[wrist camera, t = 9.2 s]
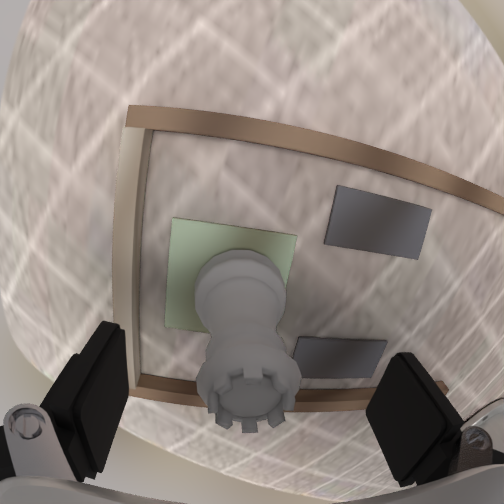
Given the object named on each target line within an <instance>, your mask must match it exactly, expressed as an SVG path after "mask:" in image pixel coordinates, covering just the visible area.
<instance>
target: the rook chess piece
mask: <svg viewBox="0 0 504 504" xmlns="http://www.w3.org/2000/svg"><path fill="white" fill-rule="evenodd" d="M286 294H287V292H286V290H285V284H284V281H283V278H282V275H281V273H280V270H279V269H278V267H277V266H276V265H275V264H274V263H273V262H272V261H271V260H270V259H269V258H268V257H266V256H263V255H261V254H259V253H256V252H254V251H251V250H230V251H227V252H225V253H222V254H219V255H217V256H214V257H213V258H212V259H211V260H210V261H209V262H208V263H207V264H205V265H204V266H203V267H202V268H201V270H200V272H199V275H198V277H197V279H196V282H195V292H194V296H195V309H196V312H197V314H198V316H199V318H200V320H201V322H202V323H203V325H204V327H206V328H207V329H208V331H209V332H210V333H211V340H210V342H209V344H208V346H207V348H206V362H204V363H203V365H202V367H201V369H200V371H199V373H198V375H197V377H196V383H197V393H198V394H199V395H200V397H201V398H202V400H203V401H204V402H205V404H206V405H207V406H208V413H216V419H215V423H217V424H218V425H220V426H222V427H224V428H225V429H229V428H230V427H231V426H232V425H233V423H232V420H233V421H238V422H241V424H242V433H255V432H258V428H257V422H258V421H262V420H265V419H268V424H269V425H270V426H271V427H272V428H274V427H276V426H278V425H279V424H281V423H282V422H284V421H285V417H284V412H283V410H285V411H293V410H294V405H295V395H296V394H297V392H298V391H299V388H300V383H301V377H302V375H301V373H300V370H299V368H298V365H297V362H296V361H295V360H293V359H292V358H291V357H290V356H288V355H287V354H286V347H285V344H284V342H283V340H282V337H280V336H279V335H278V334H277V333H276V326H277V324H278V322H279V321H280V319H281V317H282V315H283V314H284V311H285V304H286Z"/></svg>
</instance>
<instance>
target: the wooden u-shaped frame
mask: <svg viewBox="0 0 504 504" xmlns="http://www.w3.org/2000/svg"><path fill="white" fill-rule="evenodd" d="M153 130H158V131H169V132H179V133H188V134H196V135H204V136H212V137H219V138H226V139H233V140H239V141H246V142H252V143H257V144H263V145H269V146H274V147H279V148H284V149H289V150H294V151H299V152H304V153H309V154H313V155H318V156H322V157H326V158H331V159H335V160H339V161H343V162H347V163H351V164H355V165H359V166H362V167H366V168H370V169H373V170H377V171H380V172H384V173H387V174H391V175H394V176H397V177H401V178H404V179H407V180H410V181H414V182H417V183H420V184H423V185H426V186H429V187H432V188H435V189H438V190H441V191H443V192H446V193H449V194H452V195H455V196H457V197H460V198H463V199H465V200H468V201H471V202H473V203H476V204H478V205H481V206H483V207H486V208H488V209H491V210H493V211H496V212H498V213H500V214H503V215H504V198H503V197H501V196H499V195H497V194H495V193H493V192H491V191H489V190H487V189H484V188H482V187H480V186H478V185H475V184H473V183H471V182H469V181H466V180H464V179H462V178H459V177H457V176H454V175H452V174H449V173H447V172H444V171H442V170H439V169H437V168H434V167H432V166H429V165H426V164H424V163H421V162H418V161H415V160H412V159H410V158H407V157H404V156H401V155H398V154H395V153H392V152H389V151H386V150H382V149H379V148H376V147H373V146H369V145H366V144H363V143H359V142H356V141H352V140H348V139H345V138H341V137H337V136H333V135H329V134H326V133H321V132H317V131H313V130H309V129H304V128H300V127H295V126H291V125H286V124H281V123H276V122H271V121H266V120H260V119H254V118H249V117H243V116H236V115H230V114H223V113H215V112H208V111H199V110H190V109H181V108H170V107H157V106H141V105H129V107H128V112H127V118H126V125H125V127H123V129H122V136H121V143H120V151H119V159H118V168H117V178H116V189H115V202H114V219H113V245H112V292H113V318H114V323H117V324H119V325H120V329H124V330H125V336H126V355H127V369H128V381H129V396H133V397H138V398H144V399H149V400H155V401H161V402H167V403H174V404H181V405H189V406H197V407H206V408H208V406H207V405H206V404H205V402H204V401H203V400H202V398H201V397H200V395H199V394H198V393H197V383H196V382H191V381H184V380H176V379H170V378H163V377H157V376H151V375H145V374H141V371H140V347H139V276H140V252H141V235H142V221H143V209H144V198H145V188H146V179H147V170H148V162H149V155H150V148H151V141H152V134H153ZM431 212H432V209H429V208H425V207H422V206H418V205H415V204H411V203H408V202H404V201H400V200H397V199H393V198H389V197H385V196H381V195H377V194H373V193H369V192H365V191H361V190H357V189H352V188H348V187H344V186H339V185H337V187H336V192H335V197H334V202H333V206H332V211H331V215H330V220H329V224H328V228H327V233H326V237H325V241H324V244H325V245H331V246H337V247H343V248H350V249H356V250H362V251H368V252H375V253H381V254H387V255H393V256H399V257H405V258H411V259H416V260H418V258H419V255H420V252H421V248H422V245H423V242H424V238H425V234H426V231H427V227H428V223H429V220H430V216H431ZM296 240H297V235H292V234H286V233H279V232H273V231H266V230H259V229H252V228H246V227H239V226H232V225H225V224H218V223H211V222H203V221H196V220H189V219H181V218H174V217H173V218H172V227H171V237H170V248H169V259H168V273H167V287H166V305H165V327H168V328H175V329H182V330H189V331H196V332H204V333H210V332H209V331H208V329H207V328H206V327H204V325H203V323H202V322H201V320H200V318H199V316H198V314H197V312H196V309H195V296H194V292H195V282H196V279H197V277H198V275H199V272H200V270H201V268H202V267H203V266H204V265H205V264H207V263H208V262H209V261H210V260H211V259H212V258H213V257H214V256H217V255H219V254H222V253H225V252H227V251H230V250H251V251H254V252H256V253H259V254H261V255H263V256H266V257H268V258H269V259H270V260H271V261H272V262H273V263H274V264H275V265H276V266H277V267H278V269H279V270H280V273H281V275H282V278H283V281H284V284H285V289H286V284H287V280H288V276H289V271H290V267H291V263H292V258H293V254H294V249H295V245H296ZM386 344H387V341H386V340H352V339H328V338H310V337H299V338H298V341H297V345H296V348H295V351H294V355H293V358H292V359H293V360H295V361H296V362H297V365H298V368H299V370H300V373H301V375H302V377H301V378H371V377H372V375H373V373H374V371H375V369H376V367H377V364H378V362H379V360H380V358H381V356H382V354H383V351H384V349H385V347H386ZM435 383H436V384H437V385H438V387H439V388H440V389H441V391H442V392H443V393H444V395H446V394H447V392H448V391H449V389H448V387H447V386H446V385H445V384H444V382H443V381H438V382H435ZM376 389H377V388H362V389H330V390H303V389H299V391H298V392H297V394H296V395H295V405H294V410H293V411H285V410H283V412H332V411H350V410H364V409H366V408H367V406H368V404H369V402H370V400H371V398H372V396H373V394H374V393H375V391H376Z"/></svg>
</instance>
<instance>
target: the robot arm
mask: <svg viewBox="0 0 504 504" xmlns="http://www.w3.org/2000/svg"><path fill="white" fill-rule="evenodd" d="M128 396H129V381H128V369H127V355H126V336H125V330H124V329H120V325H119V324H117V323H112V322H107V321H102V322H101V323H100V325H99V326H98V328H97V329H96V331H95V332H94V333H93V335H92V336H91V338H90V339H89V341H88V342H87V344H86V345H85V347H84V348H83V350H82V351H81V353H80V354H77V353H76V354H74V355H73V356H72V357H71V358H70V360H69V361H68V363H67V364H66V366H65V367H64V369H63V370H62V372H61V373H60V375H59V376H58V378H57V379H56V381H55V382H54V384H53V385H52V387H51V389H50V390H49V392H48V393H47V395H46V397H45V398H44V400H43V402H42V403H41V405H40V406H37V405H34V404H20V405H17V406H14V407H13V408H11V409H10V410H9V411H8V412H7V413H6V415H5V417H4V422H3V423H4V425H3V426H0V504H185V503H178V502H171V501H165V500H158V499H153V498H147V497H142V496H137V495H132V494H128V493H123V492H119V491H115V490H110V489H106V488H101V487H98V486H94V485H90V484H85V483H82V482H84V479H85V477H88V478H91V479H95V477H96V474H97V472H99V473H102V472H103V469H104V467H105V464H106V460H107V457H108V454H109V451H110V448H111V445H112V442H113V439H114V436H115V433H116V430H117V428H118V425H119V422H120V419H121V416H122V413H123V410H124V408H125V405H126V402H127V399H128ZM366 416H367V418H368V421H369V423H370V425H371V427H372V430H373V432H374V434H375V436H376V438H377V441H378V443H379V445H380V447H381V450H382V452H383V454H384V456H385V459H386V461H387V463H388V466H389V468H390V470H391V473H392V475H393V477H394V479H395V480H396V481H398V482H399V485H400V487H405V486H408V485H412V484H413V483H414V482H415V481H416V483H417V486H416V487H412V488H409V489H405V490H401V491H397V492H393V493H389V494H385V495H380V496H375V497H370V498H365V499H359V500H354V501H347V502H341V503H333V504H504V399H501V400H498V401H496V402H494V403H492V404H490V405H489V406H487V407H485V408H484V409H483V410H481V411H480V412H478V413H477V414H476V415H475V416H473V417H472V418H471V419H470V420H468V421H467V422H466V423H465V422H464V421H463V419H462V418H461V417H460V415H459V414H458V412H457V411H456V410H455V408H454V407H453V406H452V404H451V403H450V401H449V400H448V399H447V397H446V396H445V395H444V393H443V392H442V391H441V389H440V388H439V387H438V385H437V384H436V383H435V381H434V380H433V379H432V377H431V376H430V375H429V374H428V372H427V371H426V370H425V368H424V367H423V366H422V365H421V363H420V362H419V361H418V359H417V358H416V357H415V356H414V354H413V353H410V352H399V353H397V354H396V355H395V356H394V357H392V358H391V360H390V362H389V364H388V366H387V368H386V370H385V373H384V375H383V377H382V379H381V381H380V383H379V385H378V387H377V389H376V391H375V393H374V394H373V396H372V398H371V400H370V402H369V404H368V406H367V408H366ZM464 423H465V424H464ZM463 424H464V425H463Z"/></svg>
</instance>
